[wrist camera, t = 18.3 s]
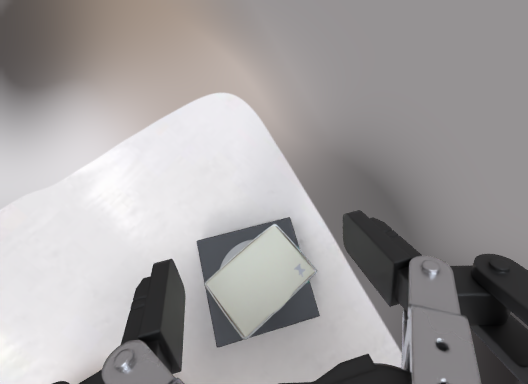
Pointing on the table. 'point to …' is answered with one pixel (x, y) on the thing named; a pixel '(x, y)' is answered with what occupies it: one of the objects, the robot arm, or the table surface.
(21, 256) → the table surface
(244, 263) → the cosmetic box
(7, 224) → the table surface
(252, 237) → the scale
